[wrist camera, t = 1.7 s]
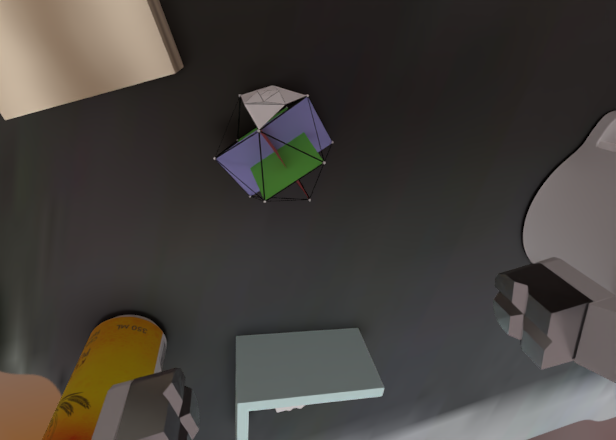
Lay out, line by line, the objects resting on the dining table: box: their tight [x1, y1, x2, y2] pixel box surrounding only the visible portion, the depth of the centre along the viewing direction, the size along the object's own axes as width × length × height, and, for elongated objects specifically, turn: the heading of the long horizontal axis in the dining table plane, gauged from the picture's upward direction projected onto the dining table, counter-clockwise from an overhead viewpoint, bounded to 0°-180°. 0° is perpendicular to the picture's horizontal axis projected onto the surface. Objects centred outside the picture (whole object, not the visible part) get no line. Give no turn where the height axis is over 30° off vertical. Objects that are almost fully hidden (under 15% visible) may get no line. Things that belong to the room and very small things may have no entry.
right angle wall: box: [235, 328, 384, 440], centre depth 35 cm, size 12×12×8 cm
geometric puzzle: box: [213, 85, 334, 203], centre depth 23 cm, size 7×7×8 cm
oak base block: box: [0, 0, 184, 120], centre depth 19 cm, size 9×9×4 cm
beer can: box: [42, 315, 167, 440], centre depth 25 cm, size 6×6×15 cm
